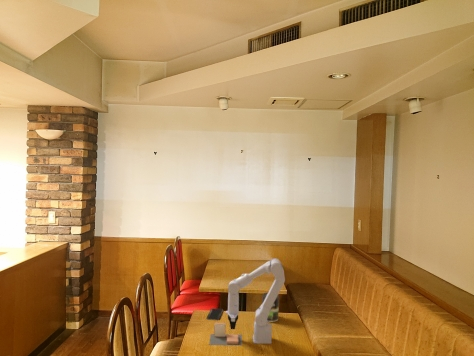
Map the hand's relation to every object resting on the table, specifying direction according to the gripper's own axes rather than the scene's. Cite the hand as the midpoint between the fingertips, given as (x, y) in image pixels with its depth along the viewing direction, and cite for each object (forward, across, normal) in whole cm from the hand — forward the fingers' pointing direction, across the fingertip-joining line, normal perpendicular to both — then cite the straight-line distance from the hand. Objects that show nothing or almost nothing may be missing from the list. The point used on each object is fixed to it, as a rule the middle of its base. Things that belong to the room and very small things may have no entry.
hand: (232, 328), depth 179 cm
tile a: (+4, -1, 0) cm, 4 cm away
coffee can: (+6, -25, +23) cm, 34 cm away
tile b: (+5, -2, -7) cm, 9 cm away
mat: (+5, +2, -4) cm, 7 cm away
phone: (+6, -28, -11) cm, 31 cm away
